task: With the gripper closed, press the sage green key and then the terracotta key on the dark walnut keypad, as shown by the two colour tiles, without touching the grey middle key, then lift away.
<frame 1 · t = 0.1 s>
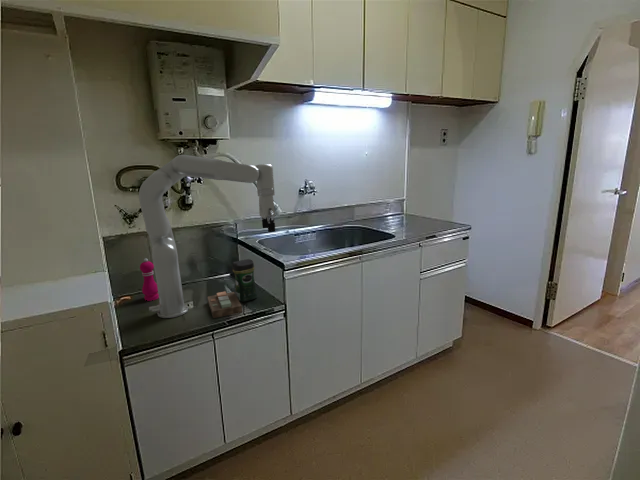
hand: (268, 229, 170), 31 cm above the countertop, tool pointing down, fingers open, 9 cm apart
sage key: (225, 305, 158), point 3 cm above the countertop, slide at 0.0 cm
terracotta key: (222, 296, 168), point 3 cm above the countertop, slide at 0.0 cm
keypad: (224, 307, 164), on the countertop
grey key: (223, 300, 163), point 3 cm above the countertop, slide at 0.0 cm
coffee jar: (246, 298, 173), on the countertop
pepper mill: (151, 298, 178), on the countertop
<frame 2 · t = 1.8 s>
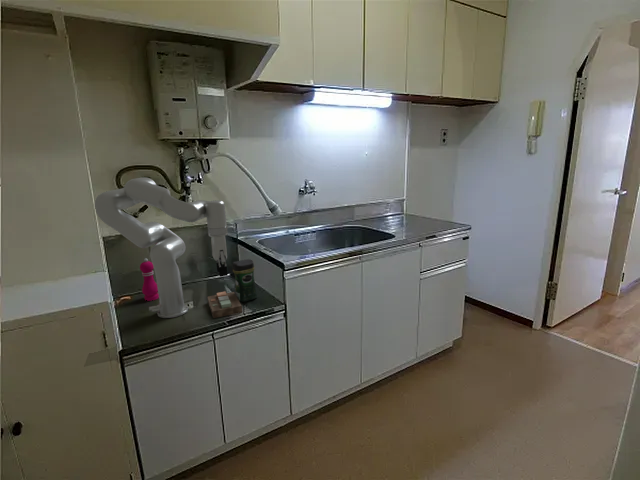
hand: (222, 273, 155), 17 cm above the countertop, tool pointing down, fingers open, 5 cm apart
nothing on the countertop moved.
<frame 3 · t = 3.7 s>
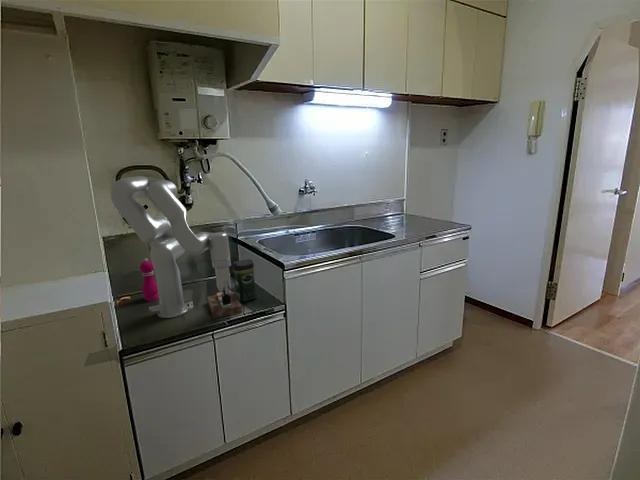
hand: (226, 303, 158), 4 cm above the countertop, tool pointing down, fingers closed
sage key: (226, 306, 159), point 2 cm above the countertop, slide at 0.7 cm
everything else where it was.
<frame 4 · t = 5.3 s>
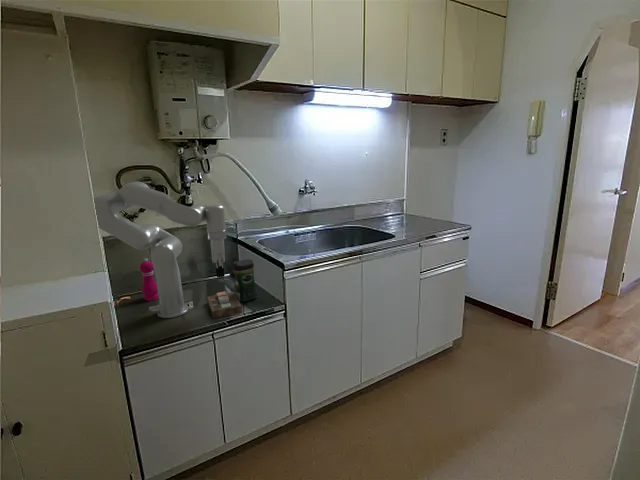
hand: (220, 276, 159), 15 cm above the countertop, tool pointing down, fingers closed
sage key: (226, 308, 159), point 2 cm above the countertop, slide at 1.3 cm
everything else where it was.
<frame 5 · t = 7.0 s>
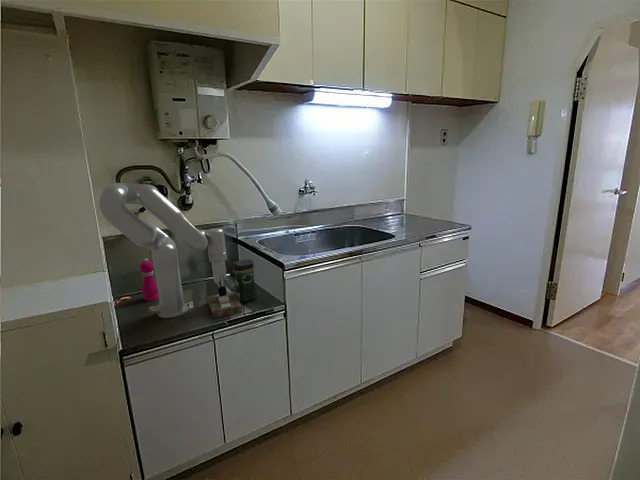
hand: (222, 295, 168), 4 cm above the countertop, tool pointing down, fingers closed
terracotta key: (222, 298, 169), point 2 cm above the countertop, slide at 1.0 cm
everything else where it was.
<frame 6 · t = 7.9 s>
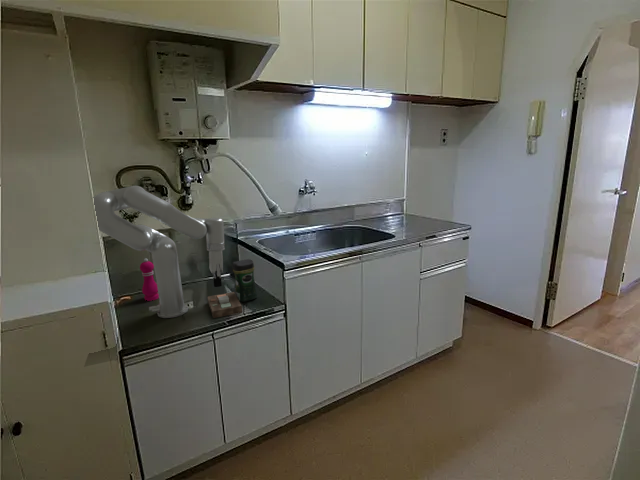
hand: (217, 286, 167), 8 cm above the countertop, tool pointing down, fingers closed
terracotta key: (222, 299, 169), point 2 cm above the countertop, slide at 1.3 cm
everything else where it was.
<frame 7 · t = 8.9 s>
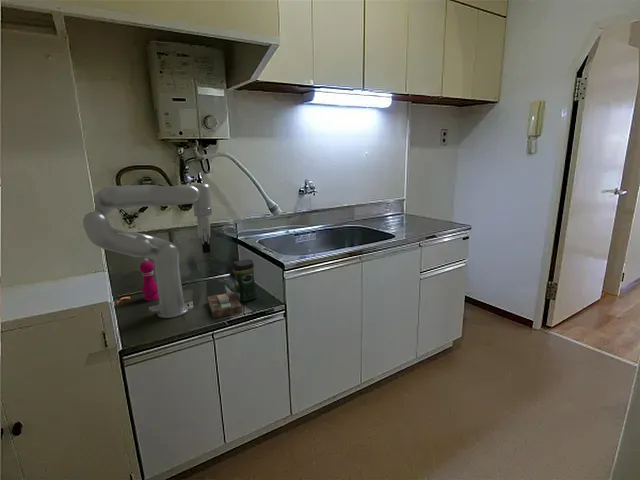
hand: (206, 252, 168), 23 cm above the countertop, tool pointing down, fingers closed
nothing on the countertop moved.
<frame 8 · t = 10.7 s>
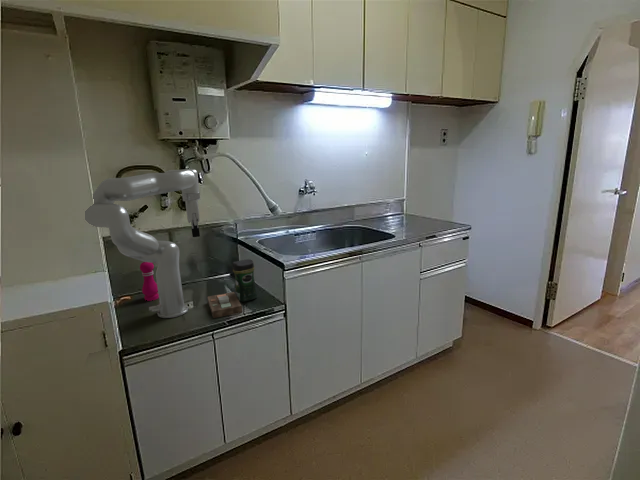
hand: (196, 236, 172), 29 cm above the countertop, tool pointing down, fingers closed
nothing on the countertop moved.
at the end: sage key slide at 1.3 cm; terracotta key slide at 1.3 cm; grey key slide at 0.0 cm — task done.
